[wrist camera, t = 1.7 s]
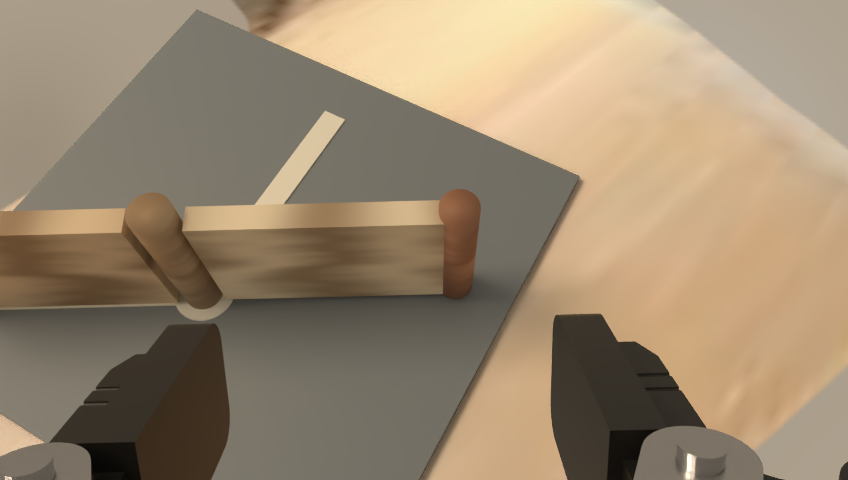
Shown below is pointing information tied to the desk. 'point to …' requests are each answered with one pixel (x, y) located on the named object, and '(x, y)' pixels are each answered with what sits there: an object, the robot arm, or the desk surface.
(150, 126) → the board
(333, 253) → the fence swing section
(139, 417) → the robot arm
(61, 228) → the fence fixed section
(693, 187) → the desk surface
